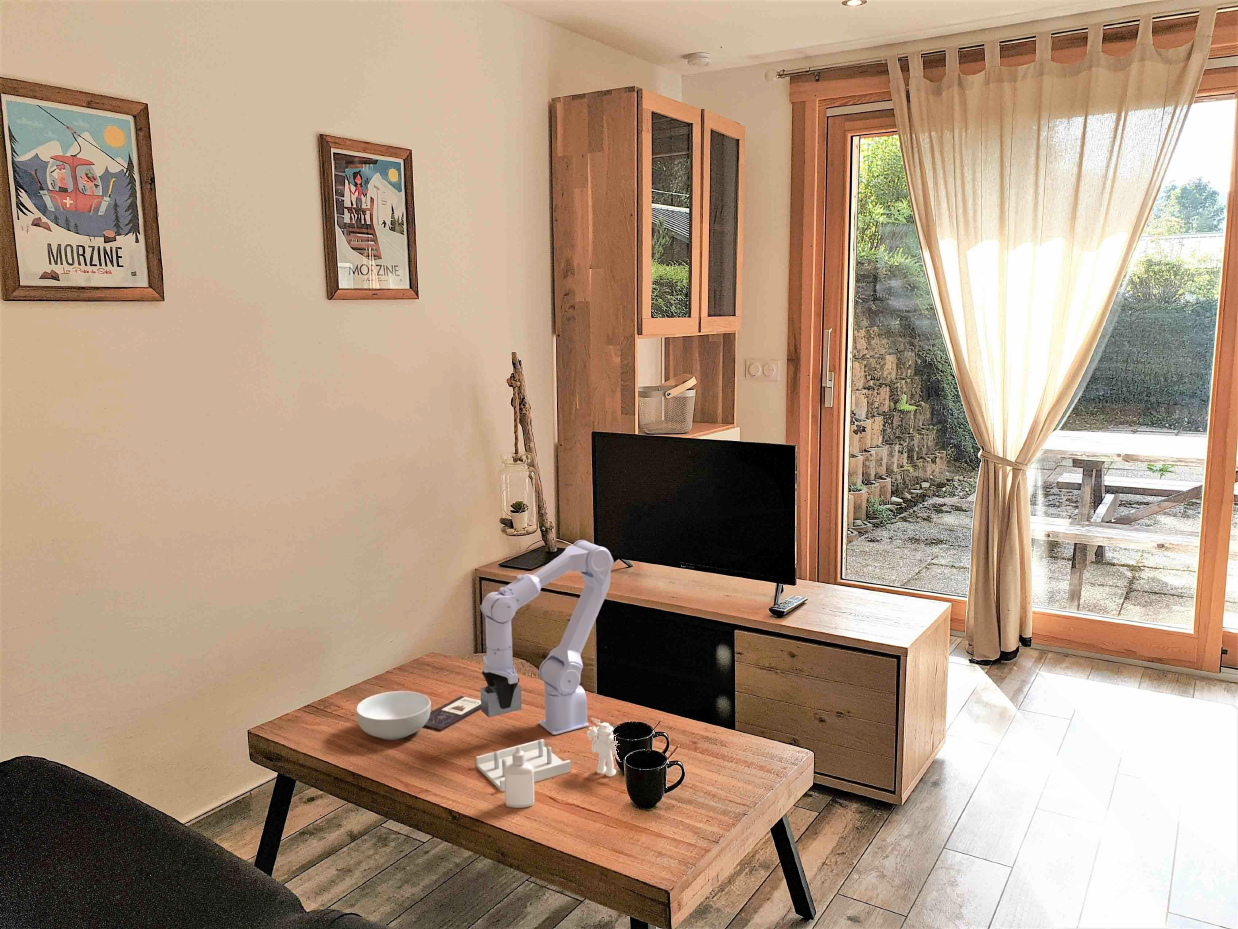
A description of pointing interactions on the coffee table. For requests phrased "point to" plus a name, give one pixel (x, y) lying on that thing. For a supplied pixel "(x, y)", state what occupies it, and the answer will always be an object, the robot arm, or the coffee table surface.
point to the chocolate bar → (452, 713)
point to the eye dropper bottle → (519, 781)
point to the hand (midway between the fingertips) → (501, 704)
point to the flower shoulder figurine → (604, 746)
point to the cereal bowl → (393, 714)
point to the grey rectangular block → (492, 704)
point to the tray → (534, 755)
